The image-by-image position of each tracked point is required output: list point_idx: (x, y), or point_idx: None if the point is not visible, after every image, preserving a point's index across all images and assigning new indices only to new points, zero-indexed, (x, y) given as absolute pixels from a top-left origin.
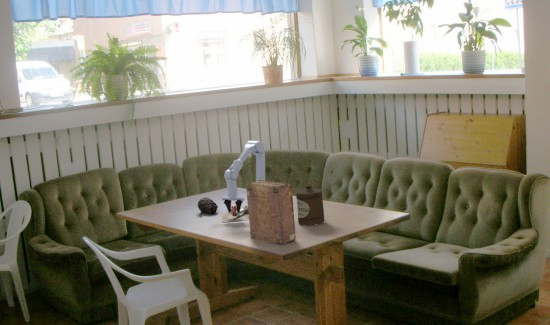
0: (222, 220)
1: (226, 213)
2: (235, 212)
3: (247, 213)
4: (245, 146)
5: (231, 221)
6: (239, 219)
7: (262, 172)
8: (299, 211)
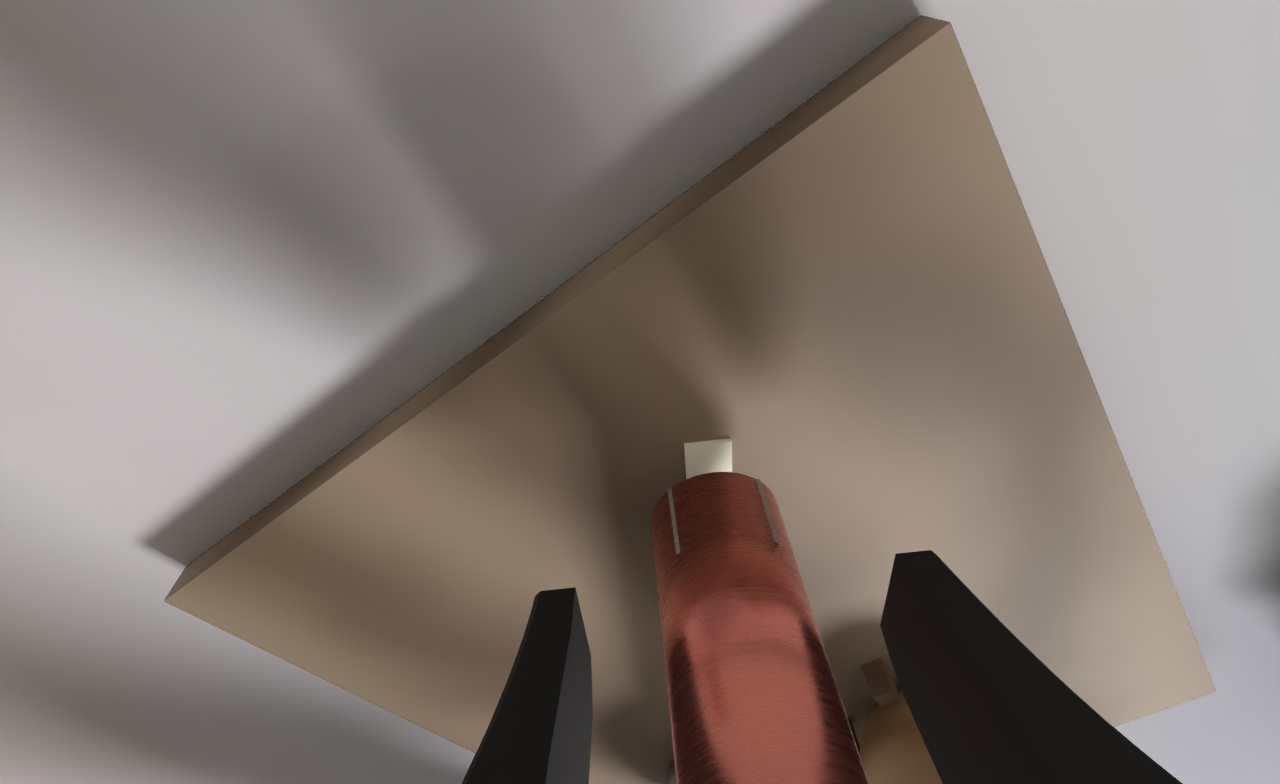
0: (970, 125)
1: (1091, 667)
2: (666, 597)
3: (649, 743)
4: None
5: (643, 228)
6: (448, 388)
7: None
8: None
